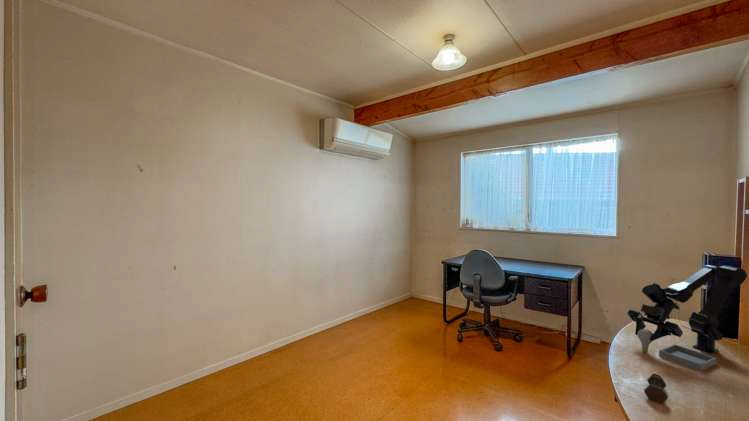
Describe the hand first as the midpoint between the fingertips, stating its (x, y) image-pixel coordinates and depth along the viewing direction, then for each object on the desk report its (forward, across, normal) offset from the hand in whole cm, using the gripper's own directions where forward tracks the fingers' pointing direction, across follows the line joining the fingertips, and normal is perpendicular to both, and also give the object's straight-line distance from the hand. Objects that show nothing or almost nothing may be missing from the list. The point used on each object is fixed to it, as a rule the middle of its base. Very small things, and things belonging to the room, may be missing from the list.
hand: (643, 337), depth 138 cm
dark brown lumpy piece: (+24, +21, -14) cm, 35 cm away
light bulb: (+4, 0, +6) cm, 7 cm away
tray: (-3, +10, +12) cm, 16 cm away
